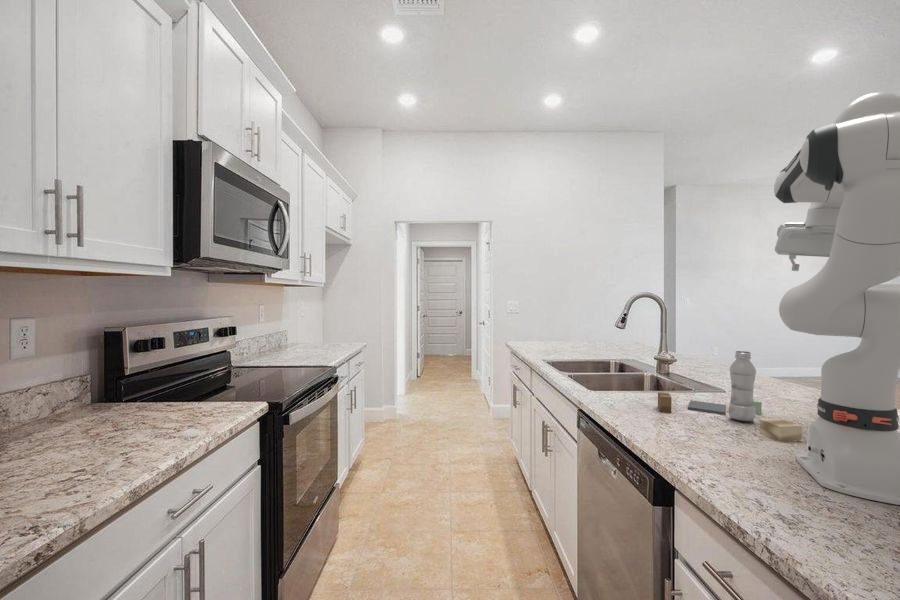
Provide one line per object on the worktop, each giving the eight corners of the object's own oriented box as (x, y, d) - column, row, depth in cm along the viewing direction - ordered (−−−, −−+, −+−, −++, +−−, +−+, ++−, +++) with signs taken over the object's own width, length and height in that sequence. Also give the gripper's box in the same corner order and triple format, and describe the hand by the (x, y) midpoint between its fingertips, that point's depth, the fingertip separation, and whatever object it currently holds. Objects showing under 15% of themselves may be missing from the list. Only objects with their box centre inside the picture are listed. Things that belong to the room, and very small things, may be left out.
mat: (725, 414, 127) (725, 412, 127) (687, 409, 132) (687, 406, 132) (725, 407, 135) (726, 404, 135) (690, 402, 140) (690, 400, 140)
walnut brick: (671, 413, 128) (671, 397, 128) (660, 412, 129) (660, 396, 129) (668, 408, 134) (668, 392, 134) (657, 407, 135) (657, 392, 135)
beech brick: (801, 441, 105) (801, 425, 105) (779, 442, 104) (780, 426, 104) (780, 433, 111) (780, 418, 111) (759, 434, 110) (759, 419, 110)
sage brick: (761, 415, 126) (761, 402, 126) (745, 413, 129) (745, 400, 129) (760, 412, 130) (760, 399, 130) (744, 410, 132) (745, 397, 132)
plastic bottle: (754, 419, 122) (755, 351, 122) (756, 425, 116) (757, 354, 116) (727, 415, 126) (729, 349, 125) (728, 421, 120) (730, 352, 119)
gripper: (777, 219, 120) (768, 267, 120) (879, 220, 106) (868, 273, 106) (779, 225, 124) (771, 270, 124) (877, 226, 110) (867, 277, 111)
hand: (816, 272), depth 115 cm, fingers open, 8 cm apart
